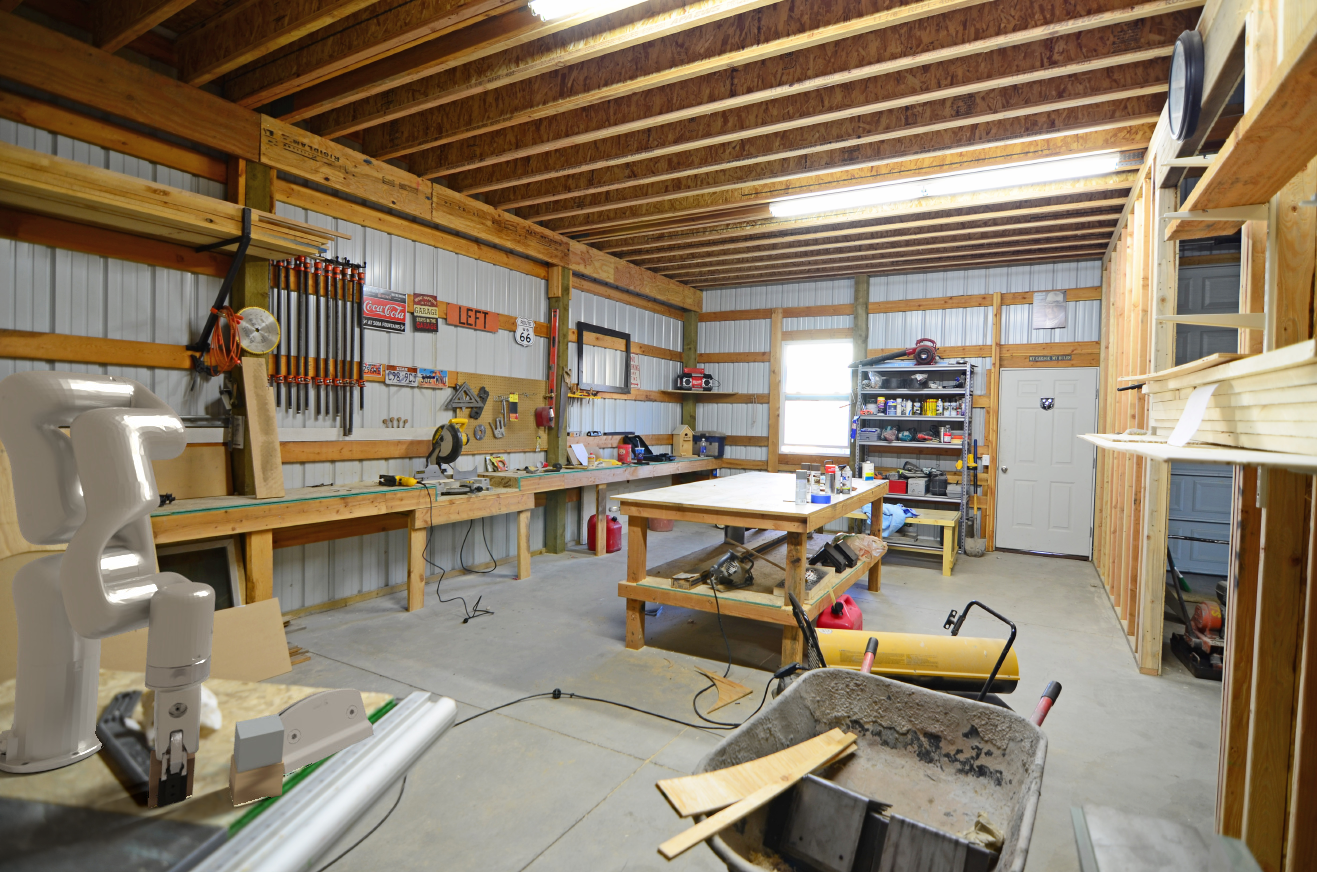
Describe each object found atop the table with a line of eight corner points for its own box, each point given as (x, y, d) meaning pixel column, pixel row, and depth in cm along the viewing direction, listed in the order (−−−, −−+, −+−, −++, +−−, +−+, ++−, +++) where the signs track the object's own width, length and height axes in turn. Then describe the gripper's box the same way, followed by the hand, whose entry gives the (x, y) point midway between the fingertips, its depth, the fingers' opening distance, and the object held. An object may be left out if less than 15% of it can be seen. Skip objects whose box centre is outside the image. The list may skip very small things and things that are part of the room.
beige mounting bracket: (283, 777, 97) (274, 712, 98) (265, 777, 99) (257, 713, 100) (375, 733, 112) (367, 677, 113) (358, 734, 114) (350, 678, 115)
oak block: (233, 808, 89) (235, 774, 89) (228, 786, 94) (231, 754, 93) (281, 794, 93) (284, 762, 93) (275, 774, 97) (277, 743, 97)
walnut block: (147, 808, 87) (150, 767, 87) (148, 790, 91) (150, 750, 91) (192, 797, 90) (195, 757, 90) (190, 780, 94) (193, 741, 94)
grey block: (237, 772, 89) (240, 738, 89) (233, 754, 93) (235, 722, 93) (281, 761, 93) (284, 729, 93) (275, 744, 97) (278, 713, 97)
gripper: (215, 688, 86) (206, 809, 86) (206, 645, 99) (198, 750, 100) (144, 700, 81) (136, 828, 82) (145, 653, 94) (138, 763, 95)
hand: (170, 785), depth 91 cm, fingers open, 9 cm apart
